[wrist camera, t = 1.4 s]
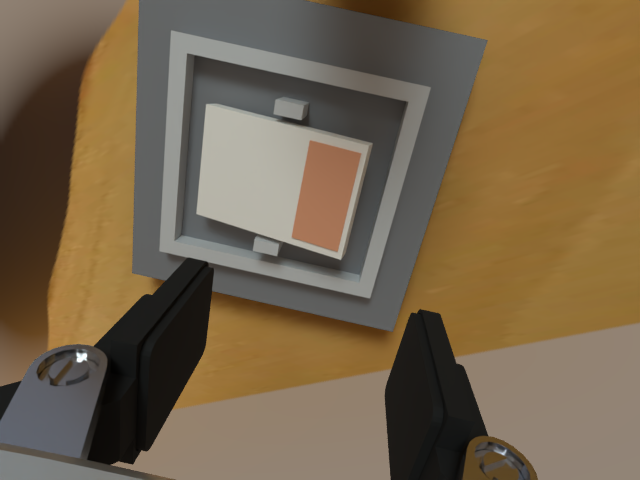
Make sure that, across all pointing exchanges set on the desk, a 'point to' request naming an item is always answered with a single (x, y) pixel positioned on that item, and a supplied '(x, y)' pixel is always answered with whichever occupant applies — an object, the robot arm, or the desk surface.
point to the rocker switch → (281, 179)
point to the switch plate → (304, 109)
